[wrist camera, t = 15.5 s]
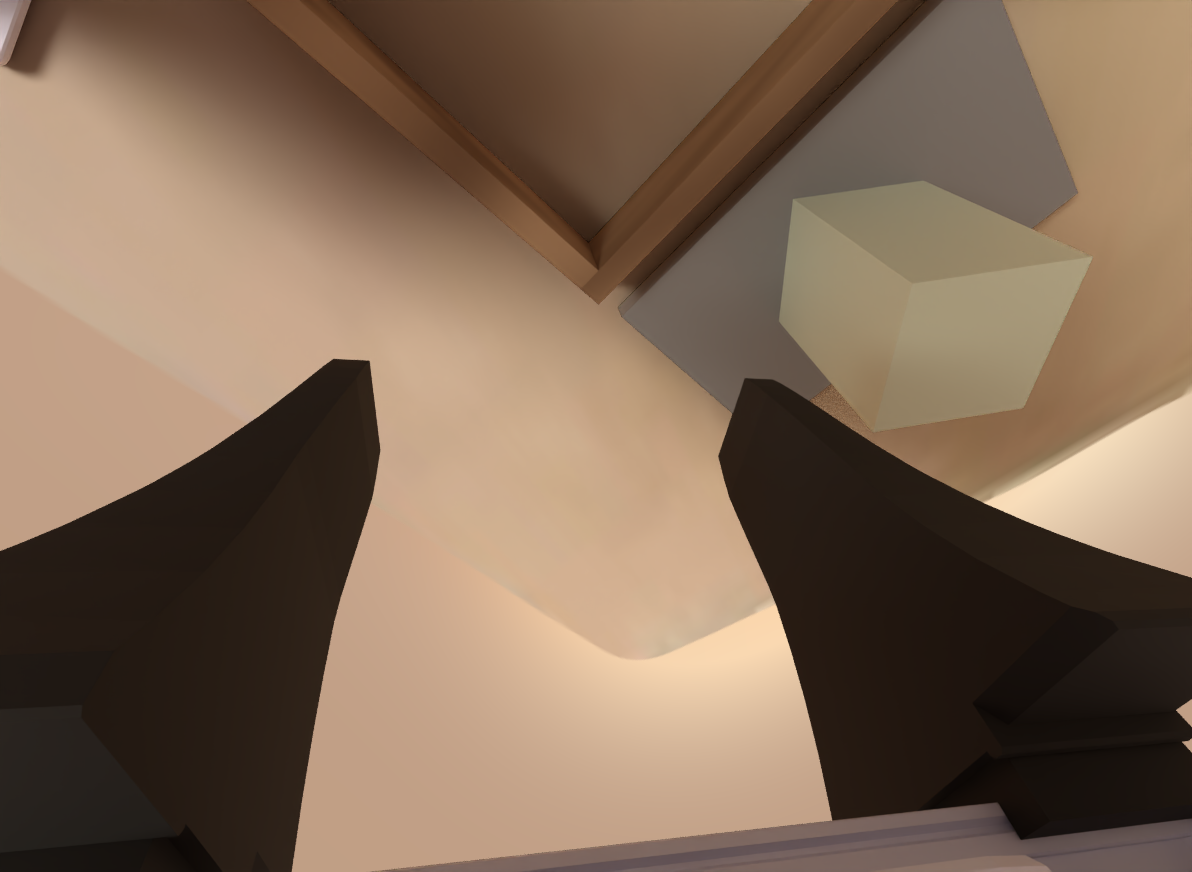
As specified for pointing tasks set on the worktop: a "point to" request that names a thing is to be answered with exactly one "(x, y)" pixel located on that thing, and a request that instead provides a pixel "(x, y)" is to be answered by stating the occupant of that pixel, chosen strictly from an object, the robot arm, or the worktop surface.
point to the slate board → (857, 188)
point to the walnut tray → (667, 196)
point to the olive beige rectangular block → (923, 301)
